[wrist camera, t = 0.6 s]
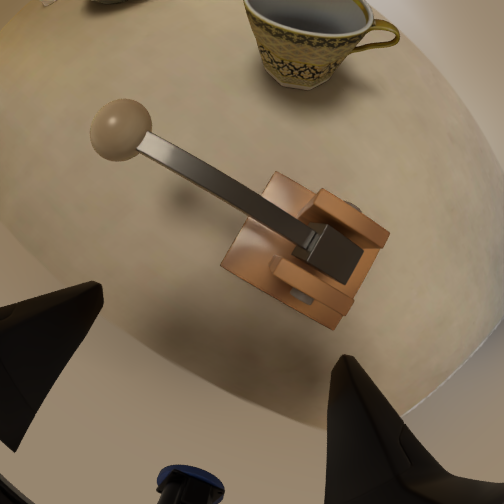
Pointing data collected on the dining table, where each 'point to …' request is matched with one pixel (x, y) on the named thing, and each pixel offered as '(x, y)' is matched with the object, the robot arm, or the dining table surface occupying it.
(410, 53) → the dining table surface
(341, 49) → the ceramic cup
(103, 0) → the bowl
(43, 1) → the cylinder with rectangular tab
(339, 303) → the bracket
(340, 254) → the lever
